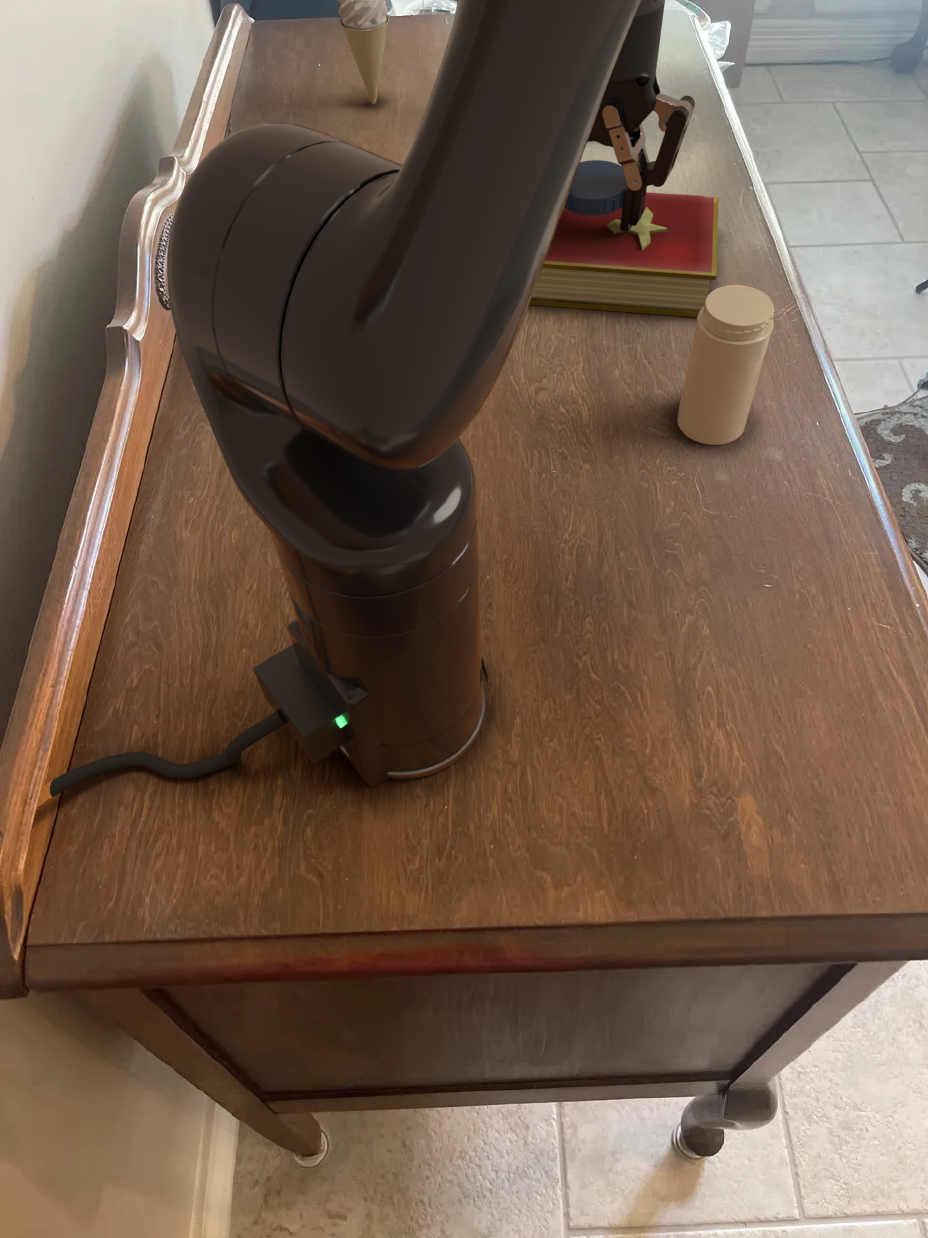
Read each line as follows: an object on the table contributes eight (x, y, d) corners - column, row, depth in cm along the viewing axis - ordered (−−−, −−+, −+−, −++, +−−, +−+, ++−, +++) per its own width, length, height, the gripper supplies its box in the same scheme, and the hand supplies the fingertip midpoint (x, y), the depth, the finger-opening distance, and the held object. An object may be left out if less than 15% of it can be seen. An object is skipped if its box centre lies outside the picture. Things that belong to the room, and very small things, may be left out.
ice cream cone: (340, 106, 99) (317, -59, 87) (369, 87, 101) (351, -76, 89) (377, 118, 97) (359, -49, 85) (406, 98, 99) (392, -67, 87)
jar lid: (639, 182, 76) (640, 165, 75) (616, 221, 73) (618, 204, 72) (572, 170, 77) (572, 154, 76) (547, 209, 74) (547, 192, 73)
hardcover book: (480, 220, 85) (479, 176, 82) (710, 235, 83) (719, 190, 79) (457, 298, 79) (455, 254, 75) (707, 317, 76) (717, 272, 72)
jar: (711, 455, 67) (741, 338, 58) (662, 418, 69) (684, 301, 61) (759, 424, 68) (794, 307, 60) (709, 390, 71) (737, 272, 62)
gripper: (727, -19, 63) (688, 212, 77) (532, -44, 67) (527, 181, 81) (699, 26, 59) (662, 261, 73) (493, -2, 63) (495, 226, 77)
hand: (592, 218), depth 77 cm, fingers closed on jar lid, 5 cm apart
